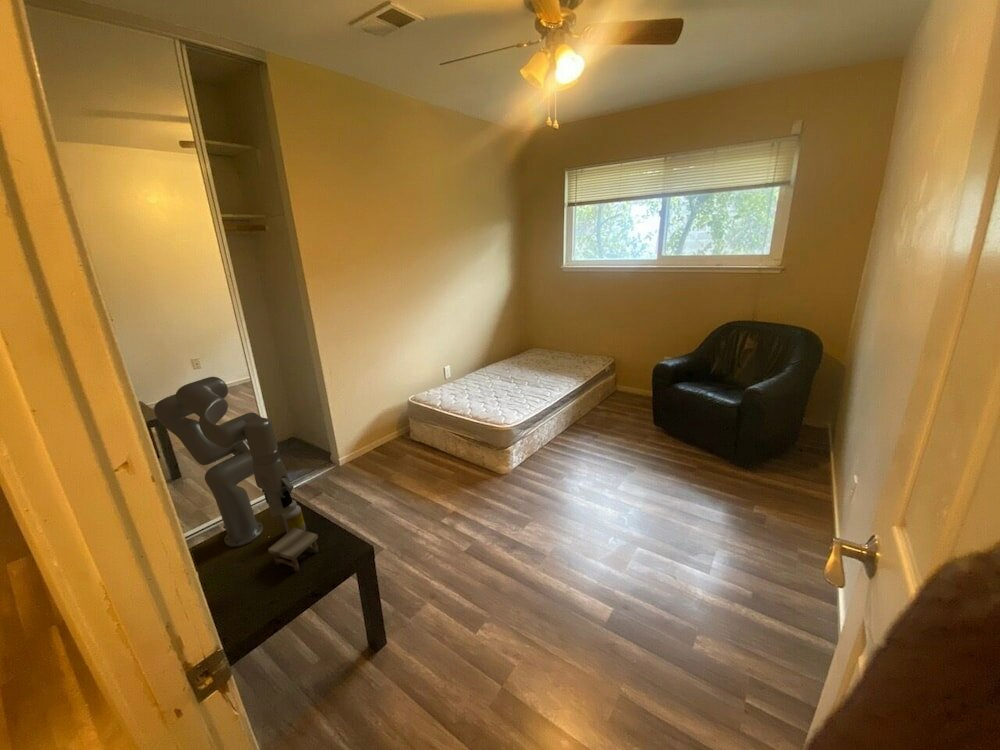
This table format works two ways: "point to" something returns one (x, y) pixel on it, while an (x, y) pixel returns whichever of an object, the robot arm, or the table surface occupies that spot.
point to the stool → (293, 547)
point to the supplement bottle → (294, 518)
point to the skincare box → (275, 502)
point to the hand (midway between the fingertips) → (279, 502)
